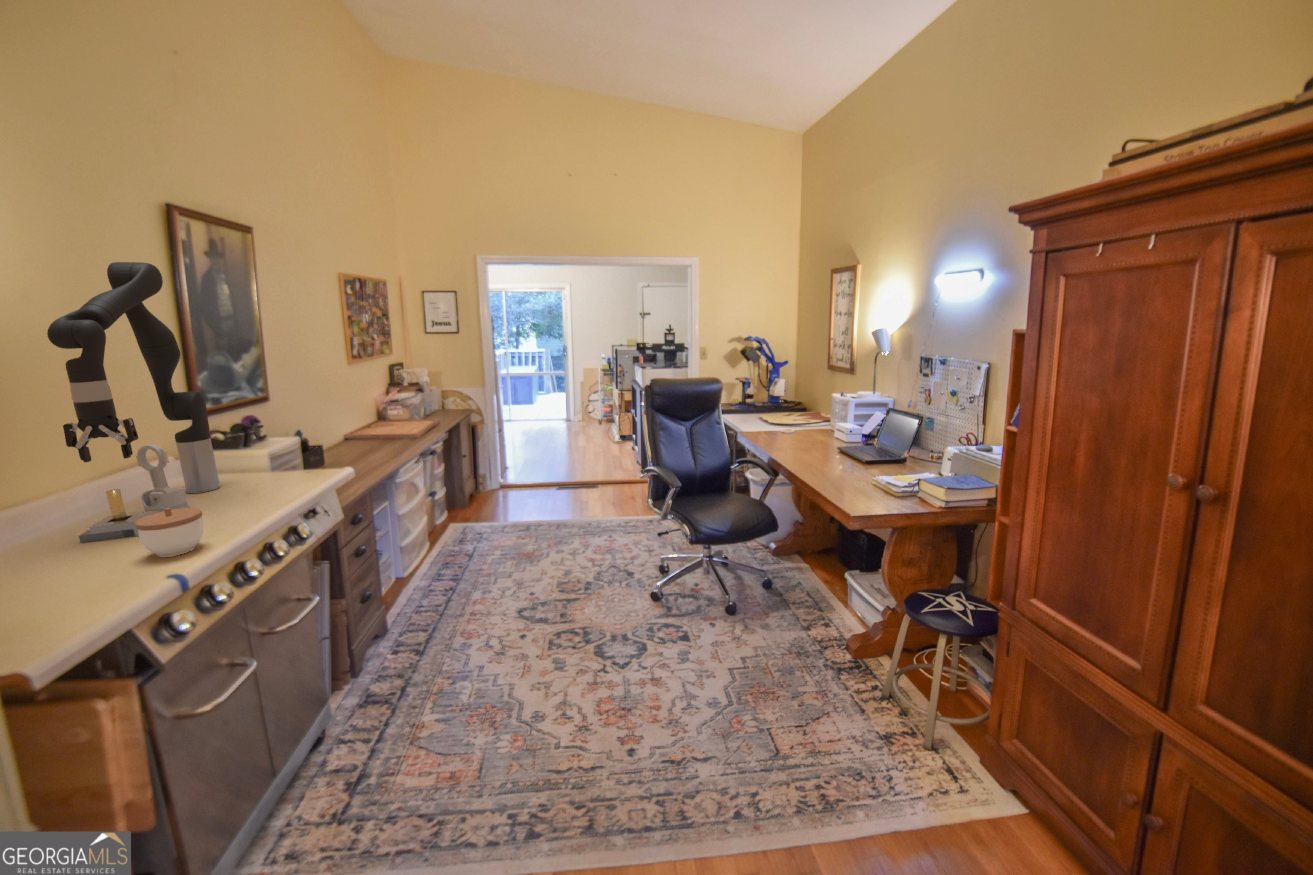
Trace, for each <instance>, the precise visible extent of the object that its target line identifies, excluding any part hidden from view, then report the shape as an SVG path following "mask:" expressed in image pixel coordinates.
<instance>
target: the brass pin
mask: <svg viewBox="0 0 1313 875" xmlns="http://www.w3.org/2000/svg"><path fill="white" fill-rule="evenodd" d="M105 494H106V499H107V502H108V506H109V510H110V514H111V515H110V516H112V519H113V522H115V521H123V520H126V519H127V517H126V514H127V513H126V509H125V505H124V500H123V497H122V493H121V489H120V488H112V489H109V490H106V491H105Z"/></svg>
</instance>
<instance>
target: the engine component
mask: <svg viewBox="0 0 1313 875" xmlns="http://www.w3.org/2000/svg"><path fill="white" fill-rule="evenodd" d="M149 450H150V451H153V452H154V453H155V455H156V456H157V458H158V459H157V460H158V463H157V465H156V466H155V465H152V464H151V463H150V462H149V461H148V458H147V451H149ZM135 458H136V461H137V464H138V467H141V468H142V469H144V470H145V471H147V472H148V473H149V476H150V480H151V483H152V486H153V489H149V490H145V491H144V492H141V493H140V496H141V501H142V505H143V510H144V512H149V511H157V510H164V509H166V508H171V509H174V508H183V507H185V508H189V504H188V499H187V495H186V489H185V486H183V487H182V488H180V489H176V488H175V487H171V486H169V485H168V481H167V477H166V474H165V470H164V469H165V468H166V467H167V464H169V463H170V460H169V457H168V454H167V451H165V450H164V449H163V448H162V447H161V446H160V445H158V444H154V443H150V444H149V443H148V444H146V445H143V446H141V447H139V448H138V450H137V453H136V456H135Z"/></svg>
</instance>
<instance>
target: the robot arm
mask: <svg viewBox="0 0 1313 875" xmlns="http://www.w3.org/2000/svg"><path fill="white" fill-rule="evenodd" d="M106 273H107V275H106V276H107V279H108V282H109V284H110V287H111V289H109V290H107V291H104V292H102V293H99V294H97V295H95V296H93V297H92V298H90V299H89V300H88V301H86V302H85V303H84V304H83V305H82V306H80V308H79V309H77V310H74V311H70V312H69V313H67V314H64V315H62V316H60V317H59V318H57V319H55V320H53V321H52V323H50V325H49V326H48V328H47V338H48V340H49V342H50V343H51V344H52V345H54V346H55V347H57V348H60V349H65V350H70V349H71V350H74V349H82V350H81V354H80V356H79V357H74V358H71V359H68V360H67V361H66V362H65V370H66V372H67V378H68V382H69V386H70V387H69V388H70V390H69V391H70V395H71V400H72V403H73V406H74V411H75V415H76V418H77V420H78V421H77V423H75V422H68V423H65V424H63V426H62V427H63V434H64V439H65V444H66V445H65V446H66V447H68V448H75V449H77V450H78V454H79V455H78V456H79V459H80V460H81V461H83V463H89V462H91V461H92V455H91V452H90V448H89V446H88V444H89V442H90V441H91V440H93V439H98V438H109V437H111V439H113V440H116V441H117V442H118V443H120V449H121V452H122V457H123V459H130V458H131V457H132V456H133V454H134V453H133V447H132V442H134V441H137V440H139V435H138V432H137V428H136V425H135V422H134V419H133V418H131V417H128V418H125V419H119V418H118V417H117V411H116V407H115V403H114V402H115V401H114V398H113V394H112V390H111V387H110V385H109V382H108V378H107V374H106V370H105V365H104V363H105V361H104V360H105V352H106V351H105V350H106V345H107V344H106V342H107V336H106V335H107V334H106V330H108V329H109V328H110V327H112V325H114V324H115V323H116V322H117V321H118V320H119V318H120V317H122V316H123V315H125V316H126V318H127V320H128V322H129V325H130V326H131V327H130V328H131V330H132V331H133V334H134V336H135V341H136V342H137V346H138V347H139V350H140V354H141V355H142V357H143V359H144V362H145V364H146V367H147V368H148V371H149V373H150V376H151V379H152V381H153V384H154V387H155V391H156V394H157V398H158V401H159V405H160V408H161V410H162V413H163V415H164V416H165V418H167V419H166V420H168V421H172V422H174V421H175V422H176V421H189V420H190V421H191V425H190V426H189V427H187V428H185V429H183V430H179V431H177V432H176V433H175V434H174V439H175V440H174V441H175V444H176V449H177V450H176V451H177V454H178V460H179V463H180V469H181V473H182V478H183V482H184V489H185V493H187V494H199V493H205V492H210V491H214V490H217V489H219V488H221V483H220V478H219V473H218V468H217V467H218V466H217V463H216V458H215V454H214V453H215V452H214V448H213V444H212V439H211V434H210V433H211V432H210V424H209V417H208V409H207V404H206V402H207V401H206V400H205V397H204V395H203V394H202V393H201V392H200V391H197V390H195V391H194V390H193V391H191V390H190V391H179V392H178V391H177V392H175V390H174V388H173V384H172V379H173V375H174V373H175V371H176V368H177V366H178V364H179V362H180V359H181V351H180V348H179V344H178V342H177V339H176V336H175V335H174V333H173V332H172V330H171V329H170V328H169V327H168V326H167V325H166V324H164V322H163V321H161V320H160V319H159V318H157V317H156V316H155V315H154V314H153V313H152V312H151V311H149V309H148V308H147V307H146V305H145V304H144V301H146V300H148V299H149V298H151V297H153V296H155V295H156V294H158V293H159V292H160V291H161V289H162V287H163V284H164V281H163V276H162V273H161V271H160V269H159V268H157V266H156V265H154V264H151V263H147V262H140V261H139V262H136V261H129V262H128V261H115V262H114V261H113V262H111V263H110V264H108V267H107V270H106ZM120 425H121V427H122V428H124V430H125V432H123V431H122V430H120V429H119V427H120ZM78 429H79V430H80V431H81V432H82V434H81V436H80V437H79V440H78V438H77V431H78ZM125 433H126V434H125Z"/></svg>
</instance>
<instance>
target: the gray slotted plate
mask: <svg viewBox="0 0 1313 875" xmlns="http://www.w3.org/2000/svg"><path fill="white" fill-rule="evenodd" d="M183 508H185V507H183ZM174 509H182V508H174ZM174 509H171V510H174ZM163 511H164V510H157V511H149V512H145V511H140V512H133V513H126V517H127V519H126V520H123V521H115V522H113V519H112V515H110V516H109V515H108V516H106V517H105V518H103V519H101V520H99V521H97V522H96V523H93V524H92V525H90V526H89V529H88V530H86V531H84V532H83V533H81V534H80V535H78V539H79V543H80V544H84V543H91V542H100V541H106V540H108V541H109V540H113V539H114V540H115V539H122V538H130V537H139V535H138V532H137V529H136V526H135V522H136V521H137V520H139V519H141V518H143V517H146V516H149V515H152V514H155V513H159V512H163Z"/></svg>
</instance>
